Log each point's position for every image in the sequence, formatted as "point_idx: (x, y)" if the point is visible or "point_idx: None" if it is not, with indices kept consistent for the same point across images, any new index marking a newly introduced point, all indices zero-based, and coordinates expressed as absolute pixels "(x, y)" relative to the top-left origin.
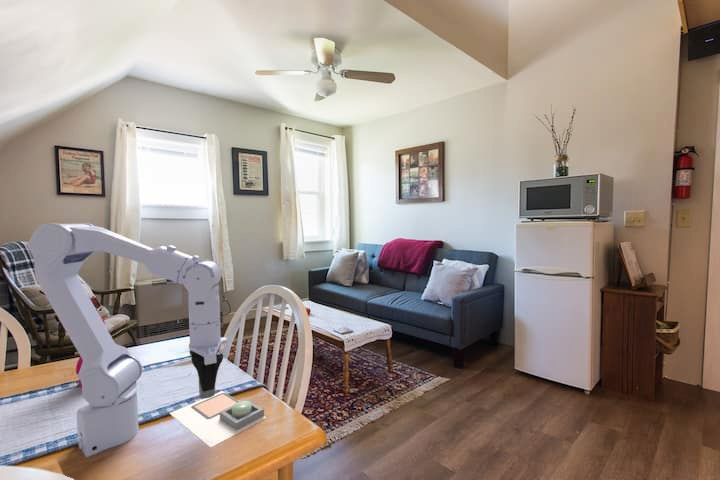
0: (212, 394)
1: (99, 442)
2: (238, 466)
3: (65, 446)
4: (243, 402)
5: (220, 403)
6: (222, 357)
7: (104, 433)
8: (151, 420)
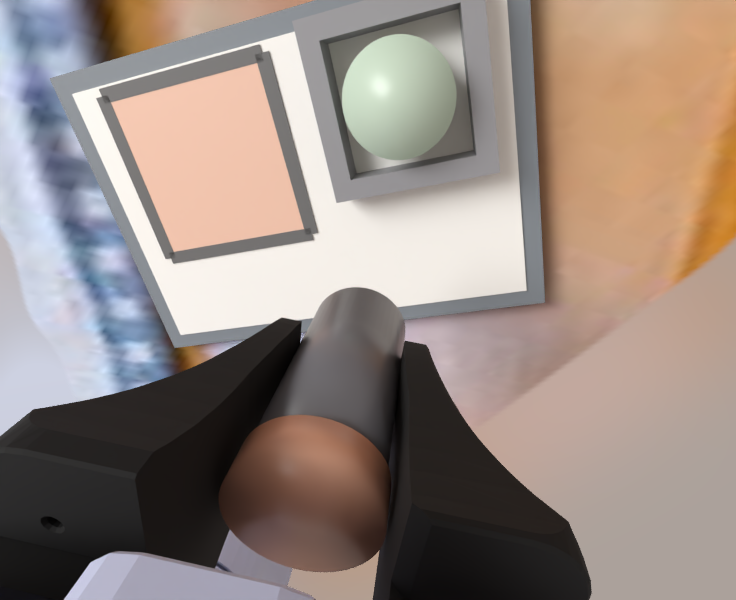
0: (399, 320)
1: None
2: (694, 231)
3: None
4: (365, 75)
5: (205, 146)
6: (577, 557)
7: None
8: (179, 370)
